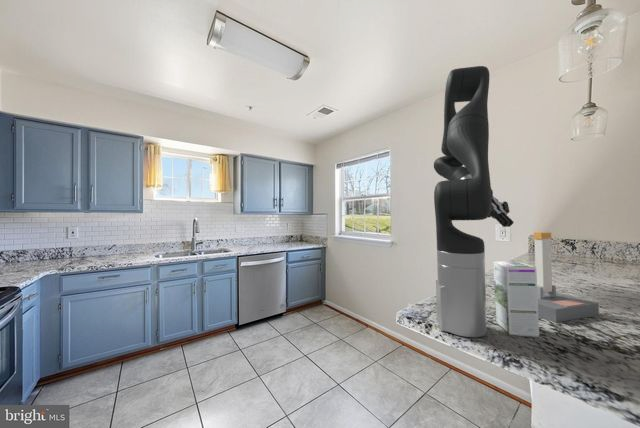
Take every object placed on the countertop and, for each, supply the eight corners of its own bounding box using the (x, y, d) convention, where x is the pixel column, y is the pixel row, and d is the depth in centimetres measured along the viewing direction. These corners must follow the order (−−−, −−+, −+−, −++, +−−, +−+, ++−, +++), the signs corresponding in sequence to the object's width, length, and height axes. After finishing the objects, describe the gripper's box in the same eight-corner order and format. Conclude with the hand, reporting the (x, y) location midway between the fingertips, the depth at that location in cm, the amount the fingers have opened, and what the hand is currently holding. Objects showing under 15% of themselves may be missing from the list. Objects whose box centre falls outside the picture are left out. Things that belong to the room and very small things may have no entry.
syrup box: (540, 337, 49) (539, 266, 49) (508, 335, 50) (506, 265, 50) (523, 324, 54) (521, 261, 54) (493, 323, 55) (492, 260, 55)
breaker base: (498, 301, 69) (497, 280, 69) (535, 296, 72) (535, 276, 72) (555, 322, 55) (555, 296, 55) (598, 315, 58) (598, 290, 58)
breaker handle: (535, 292, 64) (533, 232, 64) (544, 290, 65) (543, 232, 65) (543, 294, 62) (541, 233, 62) (552, 292, 63) (551, 232, 63)
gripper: (463, 180, 80) (499, 216, 68) (495, 181, 83) (535, 215, 71) (452, 197, 85) (483, 233, 73) (482, 197, 88) (517, 232, 76)
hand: (509, 224), depth 72 cm, fingers closed
